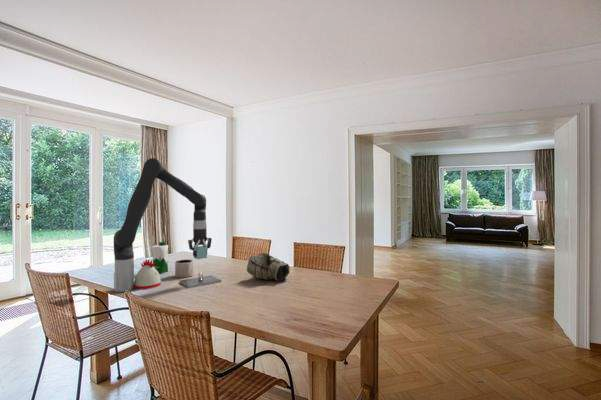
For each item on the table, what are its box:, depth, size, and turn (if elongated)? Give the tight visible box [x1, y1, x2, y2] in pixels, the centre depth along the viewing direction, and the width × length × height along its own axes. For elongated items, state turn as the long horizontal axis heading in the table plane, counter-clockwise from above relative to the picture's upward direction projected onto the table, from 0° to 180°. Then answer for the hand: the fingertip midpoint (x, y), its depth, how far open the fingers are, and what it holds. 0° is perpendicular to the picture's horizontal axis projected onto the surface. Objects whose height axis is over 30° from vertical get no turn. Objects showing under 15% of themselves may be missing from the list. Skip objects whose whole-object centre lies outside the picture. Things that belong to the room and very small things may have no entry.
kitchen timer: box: [134, 259, 162, 290], centre depth 181 cm, size 14×14×15 cm
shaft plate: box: [178, 271, 222, 289], centre depth 188 cm, size 20×14×6 cm
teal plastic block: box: [193, 245, 208, 260], centre depth 186 cm, size 6×6×7 cm
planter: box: [174, 259, 194, 279], centre depth 202 cm, size 11×11×10 cm
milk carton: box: [151, 241, 169, 275], centre depth 212 cm, size 9×9×20 cm
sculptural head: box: [246, 251, 290, 282], centre depth 197 cm, size 17×21×25 cm
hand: (200, 256), depth 187 cm, fingers closed on teal plastic block, 5 cm apart
